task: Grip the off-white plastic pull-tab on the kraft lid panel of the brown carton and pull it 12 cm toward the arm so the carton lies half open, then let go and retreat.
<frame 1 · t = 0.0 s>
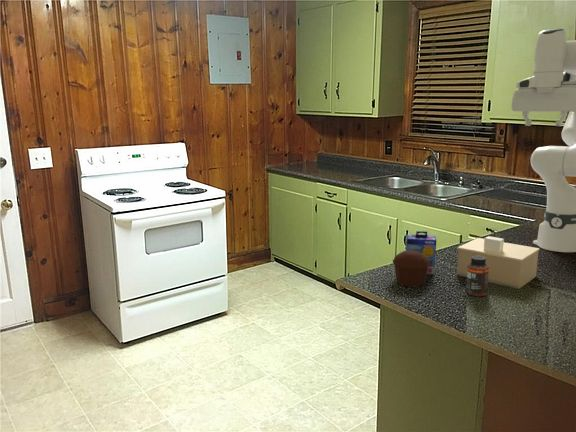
hand: (543, 125, 167), 48 cm above the countertop, fingers open, 8 cm apart
carton lid: (498, 242, 166), point 11 cm above the countertop, slide at 0.0 cm
carton: (496, 275, 169), on the countertop
ink cartridge box: (419, 272, 174), on the countertop
muffin: (410, 282, 164), on the countertop
supplement bottle: (476, 294, 154), on the countertop
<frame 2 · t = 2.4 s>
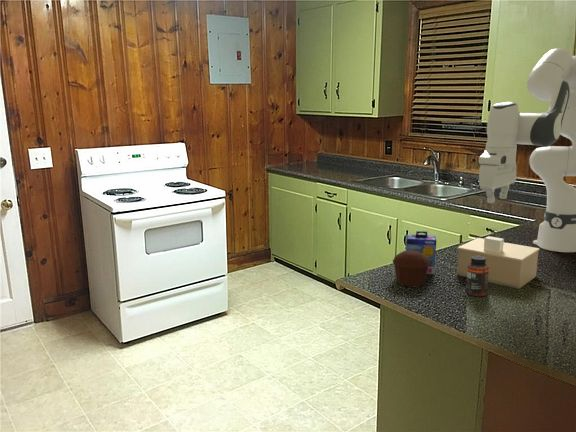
hand: (497, 200, 160), 26 cm above the countertop, fingers open, 8 cm apart
nothing on the countertop moved.
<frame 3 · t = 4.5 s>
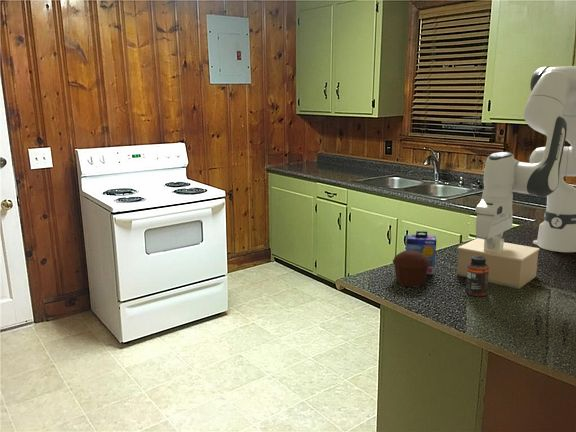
hand: (493, 247, 164), 11 cm above the countertop, fingers closed on carton lid, 3 cm apart
carton lid: (498, 242, 166), point 11 cm above the countertop, slide at 0.0 cm, touching gripper
everything else where it was.
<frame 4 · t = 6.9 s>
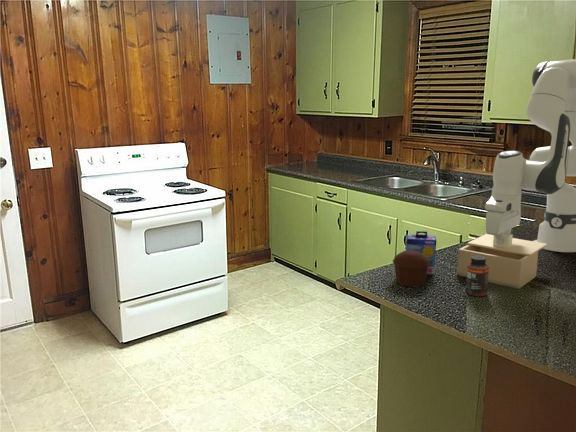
hand: (502, 242, 169), 10 cm above the countertop, fingers closed on carton lid, 3 cm apart
carton lid: (507, 238, 171), point 11 cm above the countertop, slide at 7.3 cm, touching gripper
everything else where it was.
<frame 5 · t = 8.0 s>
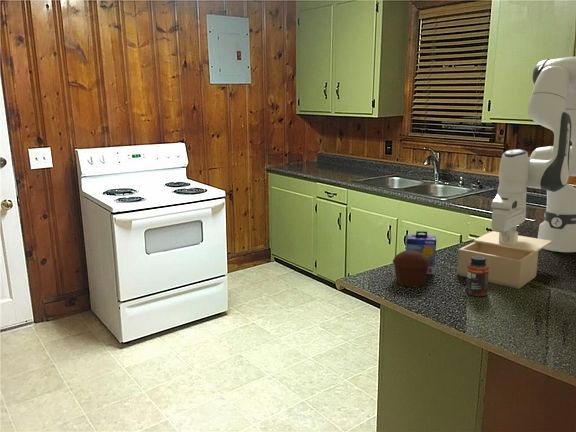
hand: (508, 240, 172), 10 cm above the countertop, fingers closed on carton lid, 3 cm apart
carton lid: (512, 235, 175), point 11 cm above the countertop, slide at 12.0 cm, touching gripper
everything else where it was.
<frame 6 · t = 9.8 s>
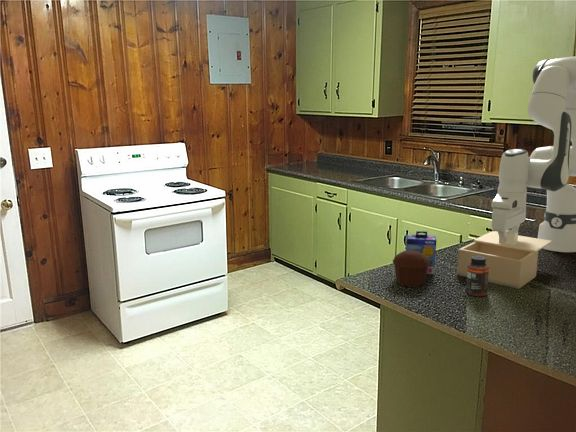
hand: (508, 239, 172), 11 cm above the countertop, fingers open, 8 cm apart
carton lid: (512, 235, 175), point 11 cm above the countertop, slide at 12.1 cm
everything else where it was.
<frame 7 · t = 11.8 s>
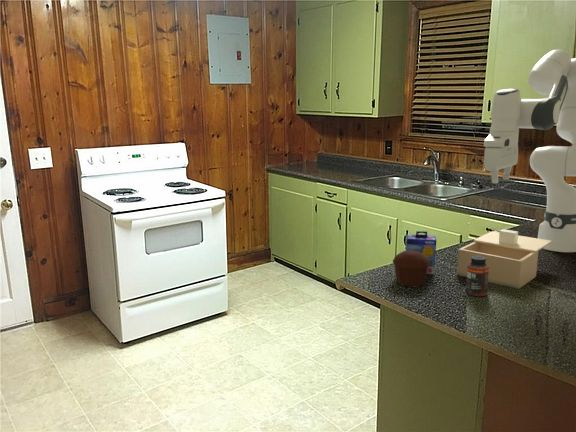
hand: (500, 181, 172), 30 cm above the countertop, fingers open, 8 cm apart
nothing on the countertop moved.
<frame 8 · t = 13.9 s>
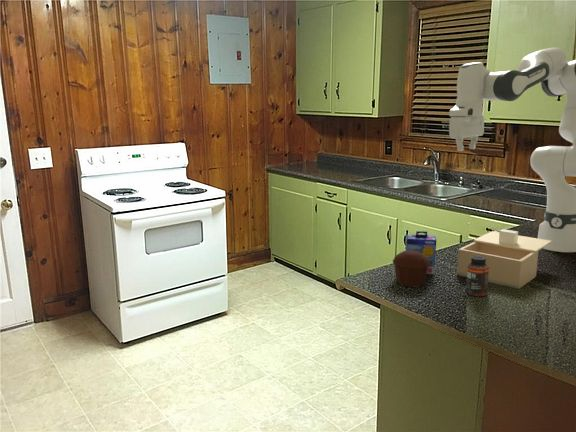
hand: (466, 150, 182), 39 cm above the countertop, fingers open, 8 cm apart
nothing on the countertop moved.
at the end: carton lid slide at 12.1 cm; ink cartridge box moved 0.3 cm from its start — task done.
